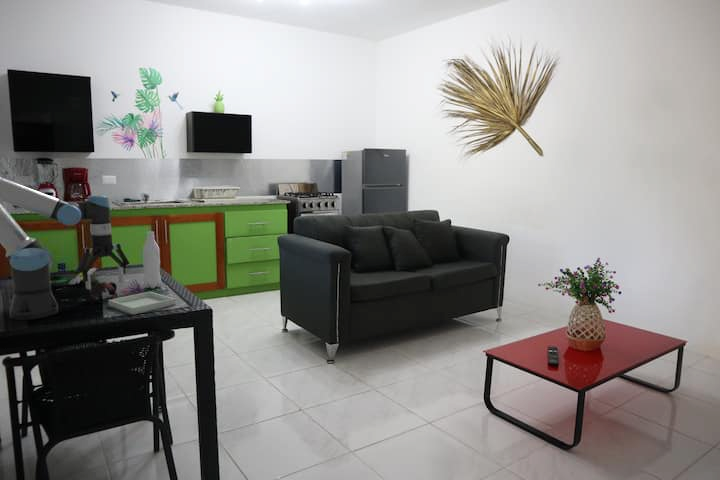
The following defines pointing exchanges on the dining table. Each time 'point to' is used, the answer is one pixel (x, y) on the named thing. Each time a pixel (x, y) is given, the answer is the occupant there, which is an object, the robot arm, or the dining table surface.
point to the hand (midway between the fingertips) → (105, 285)
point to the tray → (141, 302)
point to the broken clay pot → (101, 288)
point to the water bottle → (151, 262)
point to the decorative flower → (75, 278)
